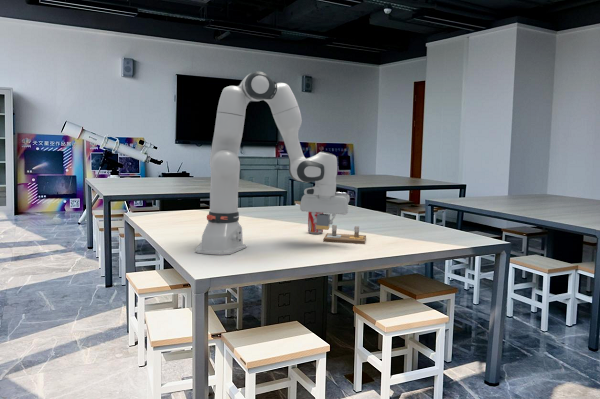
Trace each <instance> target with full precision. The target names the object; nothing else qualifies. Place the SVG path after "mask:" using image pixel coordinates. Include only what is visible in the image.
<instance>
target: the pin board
mask: <svg viewBox="0 0 600 399" xmlns="http://www.w3.org/2000/svg"><path fill="white" fill-rule="evenodd" d="M337 228H338V225H336V224H331V232H330V233H329V232H327V233H326V234H325V235H324V236H323V240H322V241H323V242H325V243H343V244H357V245H358V244H360V245H366V239H367V235H365V234H364V235H363V234H360V226H358V225H356V226H354V233H353V234H347V233H346V234H345V233H337Z"/></svg>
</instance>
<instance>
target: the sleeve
mask: <svg viewBox="0 0 600 399" xmlns="http://www.w3.org/2000/svg"><path fill="white" fill-rule="evenodd" d="M329 220H331V214H330V213H323V214H321V213H318V214H317V225H316V229H322V230H323V231H325V230H326V231H328V230H329V229H330V225H331V224H329Z"/></svg>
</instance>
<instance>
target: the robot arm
mask: <svg viewBox="0 0 600 399" xmlns="http://www.w3.org/2000/svg"><path fill="white" fill-rule="evenodd" d="M221 91H222V92H221V94H220V97H219V100H218V105H217V110H216V118H215V123H214V124H215V125H214V132H213V137H212V143H211V149H210V156H209V167H210V187H209V189H210V190H209V212H208V214H207V215H206V220H207V224H206V226H205V227H204V230H203V232H202V236H201V242H200V244H199V245H198V246H197V247H196V249H195V253H196V254H197V253H198V254H204V255H220V256H222V255H232V254H233V253H236V252H238V251H241V250H243V249H246V248H247V244H246V243H243V238H244V237H243V226H242V225H241V224H240V223H239V219H240V218H239V217H240V212H239V209H238V208H239V186H240V185H239V184H240V173H241V172H240V171H241V170H240V169H241V162H240V159H239V152H240V148H241V143H242V138H243V133H244V127H245V126H244V125H245V119H246V109H247V106H248V105H249V103H253V102H260V101H264V102H265V103H267V104H268V106H269V108H270V111H271V114H272V117H273V119H274V123H275V125H276V127H277V129H278V131H279V133H280V136H281V137H282V140H283V143H284V144H283V145H284V146H285V150H286V153H287V156H288V161H289V162H288V172H289V175H290V177H291V178H292V179H293V180H294V181H296V182H302V183H312V182H313V183H314V184H315V185H314V186H311V187H307V188H305V189H304V191H303V193H304V194H303V195H302V196H301V200H300V206H299V210H300V211H301V212H306V213H308V212H312V216H313V218H314V223H317V218H316V217H315V214H316V212H317V213H323V214H330V215H331V216H332V218H330V220H329V224H330V225H334V224H333V223H334V219H335V218H336V216H337V215H343V216H344V215H347V214H348V213H349V202H350V199H351V198H350V195H349V194H348V193H347V192H344V191H343V192H342V191H341V192H340V191H337V180H336V179H337V176H338V158H337V156H336V155H335V154H333V153H330V152H326V151H320V152H318V153H317V154H315V155H312V156H310V157H305V155H304V153H303V149H302V145H301V143H300V139H299V131H300V128H301V126H302V122H303V121H302V119H303V118H302V114H301V110H300V107H299V103H298V100H297V99H296V96H295V94H294V93H293V90H292V89H291V87H290V85H289V84H288V83H285V82H276V81H275V80H274V79H273V78H272V77H270V75H269V74H267V73H265V72H264V71H261V70H257V71H253V72H250V73H248V74H247V75H246V76H245V77H244V78H243V79H242V80H241V81H240V83H238V85H229V86H226V87H224V88H223V89H222V90H221Z"/></svg>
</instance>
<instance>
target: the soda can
mask: <svg viewBox="0 0 600 399" xmlns="http://www.w3.org/2000/svg"><path fill="white" fill-rule="evenodd" d="M307 214H308V215H307V217H308V218H307V219H308V220H307V232H308V233H309V234H311V235H321V234H323V232H324V230H322V229H316V225H317V223H314V218H313V216H312V212H307ZM317 214H318V213H317V212H316V214H315V217H316V218H317ZM321 214H324V213H321Z"/></svg>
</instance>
